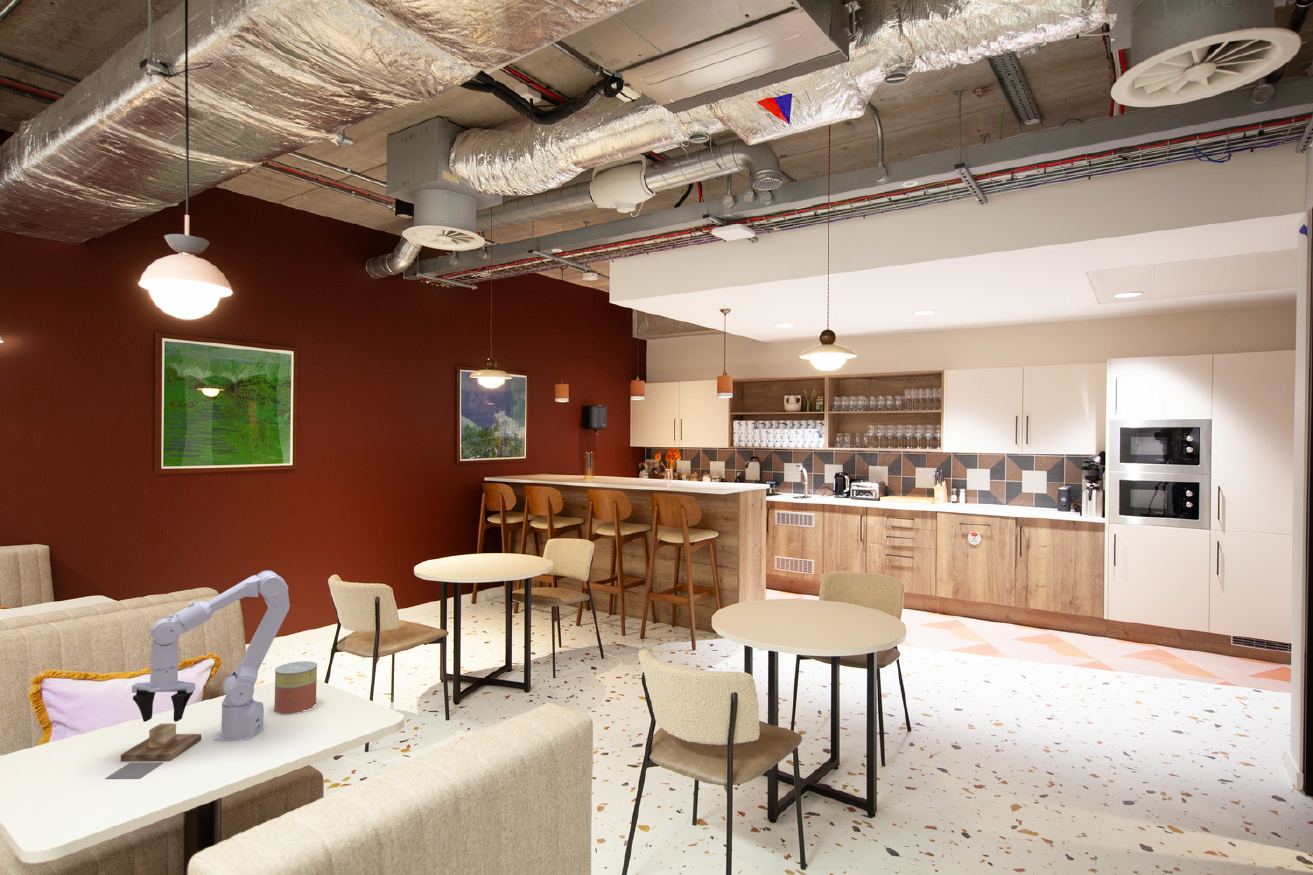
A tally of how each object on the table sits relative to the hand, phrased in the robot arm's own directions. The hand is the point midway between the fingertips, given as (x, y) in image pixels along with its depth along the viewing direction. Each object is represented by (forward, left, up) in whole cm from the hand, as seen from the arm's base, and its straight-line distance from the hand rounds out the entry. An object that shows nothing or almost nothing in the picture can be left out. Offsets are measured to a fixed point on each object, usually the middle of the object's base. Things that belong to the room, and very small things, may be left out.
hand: (162, 720), depth 173 cm
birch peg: (0, 0, -8) cm, 8 cm away
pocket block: (0, 0, -8) cm, 8 cm away
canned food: (-19, -30, -8) cm, 37 cm away
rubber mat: (-1, +11, -8) cm, 14 cm away
